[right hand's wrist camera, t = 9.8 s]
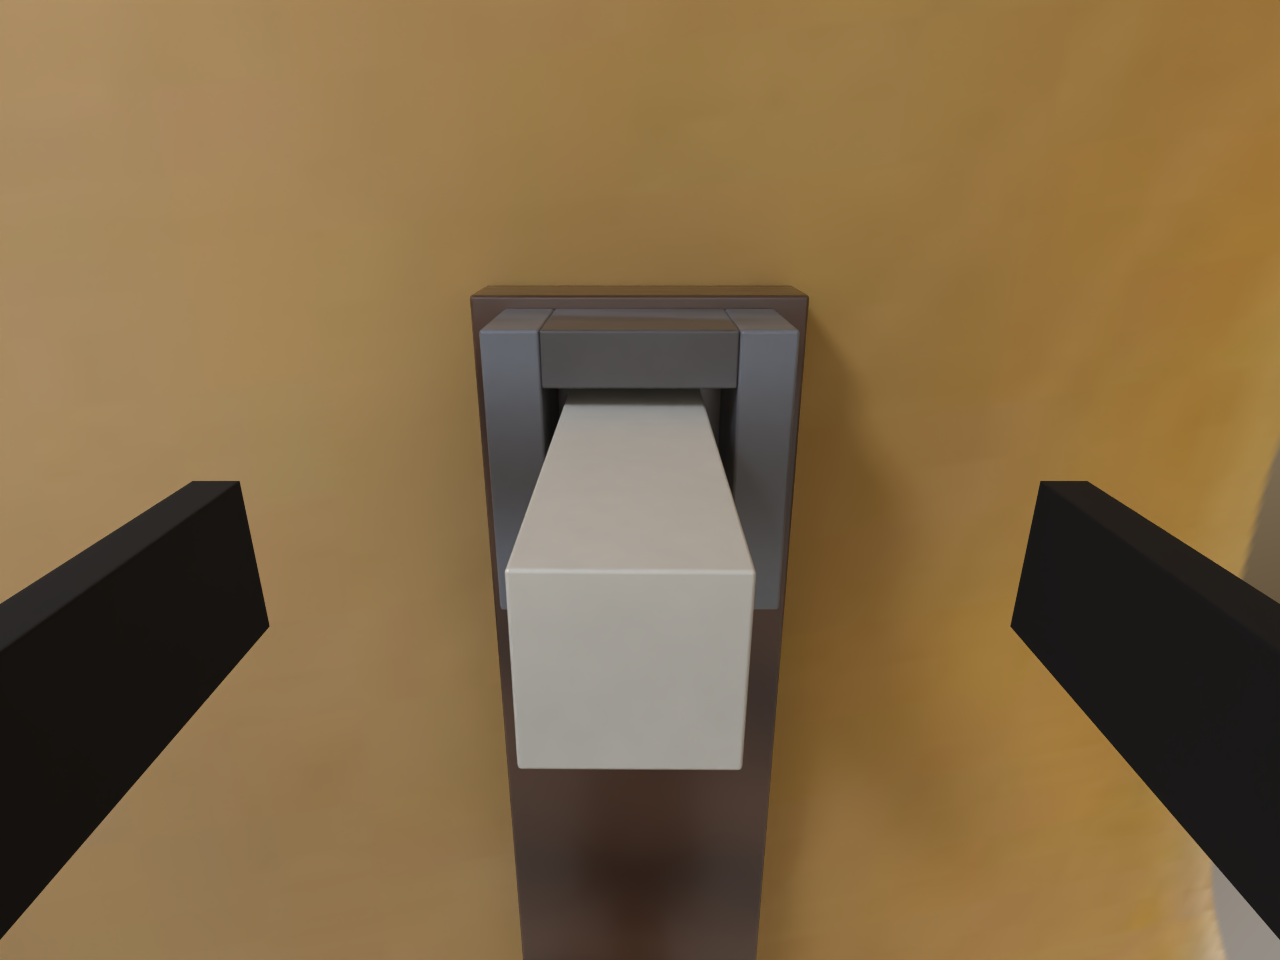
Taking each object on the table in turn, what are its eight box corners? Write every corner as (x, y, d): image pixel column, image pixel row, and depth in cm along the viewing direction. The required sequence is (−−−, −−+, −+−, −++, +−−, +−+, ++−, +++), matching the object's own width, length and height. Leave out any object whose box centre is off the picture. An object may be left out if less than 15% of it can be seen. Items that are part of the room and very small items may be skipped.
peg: (692, 491, 19) (743, 771, 10) (576, 490, 19) (516, 770, 10) (696, 377, 18) (757, 571, 9) (574, 376, 18) (503, 569, 9)
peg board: (729, 1165, 33) (756, 1450, 25) (549, 1165, 33) (523, 1449, 25) (793, 285, 19) (891, 343, 12) (485, 285, 19) (388, 343, 12)
